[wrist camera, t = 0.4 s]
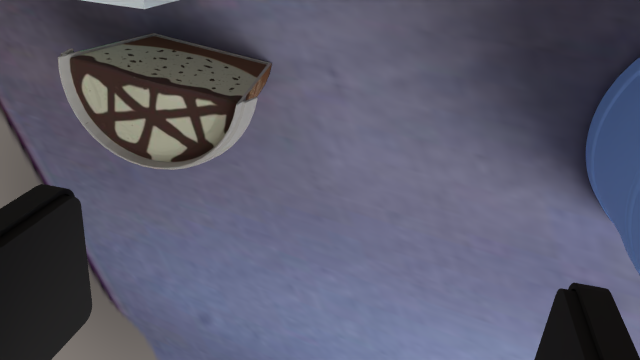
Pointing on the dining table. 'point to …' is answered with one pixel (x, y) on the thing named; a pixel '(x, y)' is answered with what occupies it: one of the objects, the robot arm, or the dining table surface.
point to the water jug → (618, 157)
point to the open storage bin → (134, 3)
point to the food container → (162, 98)
